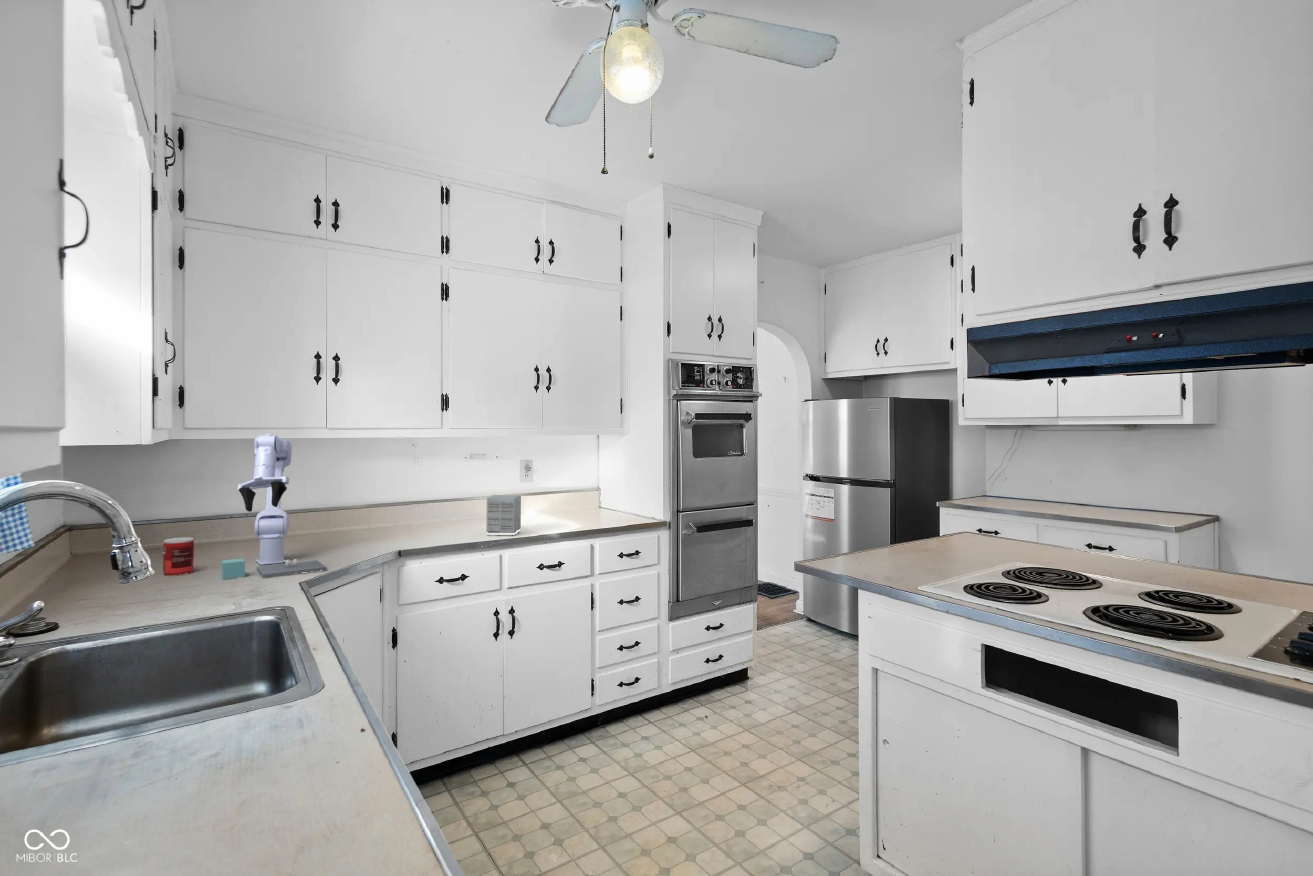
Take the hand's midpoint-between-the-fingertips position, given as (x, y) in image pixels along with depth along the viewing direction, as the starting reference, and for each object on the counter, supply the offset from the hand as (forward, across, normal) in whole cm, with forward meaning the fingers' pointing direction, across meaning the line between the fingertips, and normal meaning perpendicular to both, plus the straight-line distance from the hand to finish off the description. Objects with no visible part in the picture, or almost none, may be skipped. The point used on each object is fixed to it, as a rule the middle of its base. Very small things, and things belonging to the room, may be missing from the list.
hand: (261, 508), depth 191 cm
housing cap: (+16, -14, +13) cm, 25 cm away
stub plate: (+14, 0, +21) cm, 25 cm away
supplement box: (-11, +58, +92) cm, 110 cm away
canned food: (+10, -33, +17) cm, 39 cm away
